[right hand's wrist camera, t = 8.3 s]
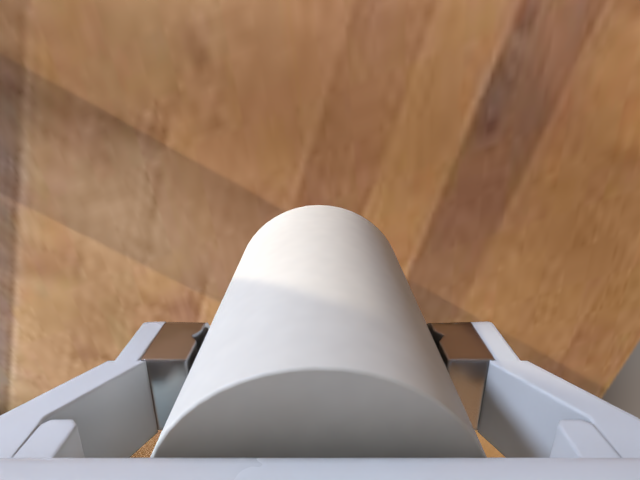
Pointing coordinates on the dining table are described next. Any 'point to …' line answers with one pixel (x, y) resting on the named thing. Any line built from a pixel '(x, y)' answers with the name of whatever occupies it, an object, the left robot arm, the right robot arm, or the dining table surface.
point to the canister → (318, 355)
